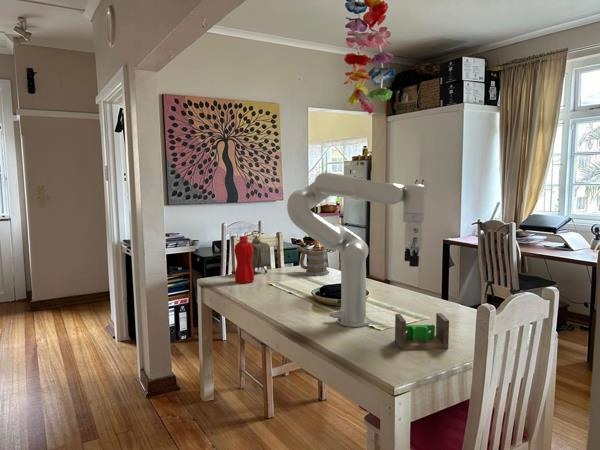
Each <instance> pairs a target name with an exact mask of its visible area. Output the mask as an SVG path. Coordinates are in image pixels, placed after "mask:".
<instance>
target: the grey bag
mask: <svg viewBox="0 0 600 450" xmlns="http://www.w3.org/2000/svg"><path fill="white" fill-rule="evenodd" d="M254 233H258V234H259V236H257V235H254ZM251 236H252V237H253V239H252V240H251V242H250V243H251V244H252V246H253V250H254V251H253V256H252V267H253V271H254V274H255V273H256V269H259V268H262V269H263V270H264V273H265V274H266V273H268V270H266V268H265V267H268V266H270V263H271V251H270V250H271V249H270V246H269V244H268V243H267V242H262V241H261V239H260V237H261V233H260V232H259V231H258V230H253V231H252V232H251Z"/></svg>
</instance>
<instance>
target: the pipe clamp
mask: <svg viewBox="0 0 600 450" xmlns="http://www.w3.org/2000/svg"><path fill="white" fill-rule="evenodd" d="M435 336H436V324H406V339H411V340H412V341H413V342H415V340H425V341H428V339H429V338H435Z"/></svg>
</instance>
